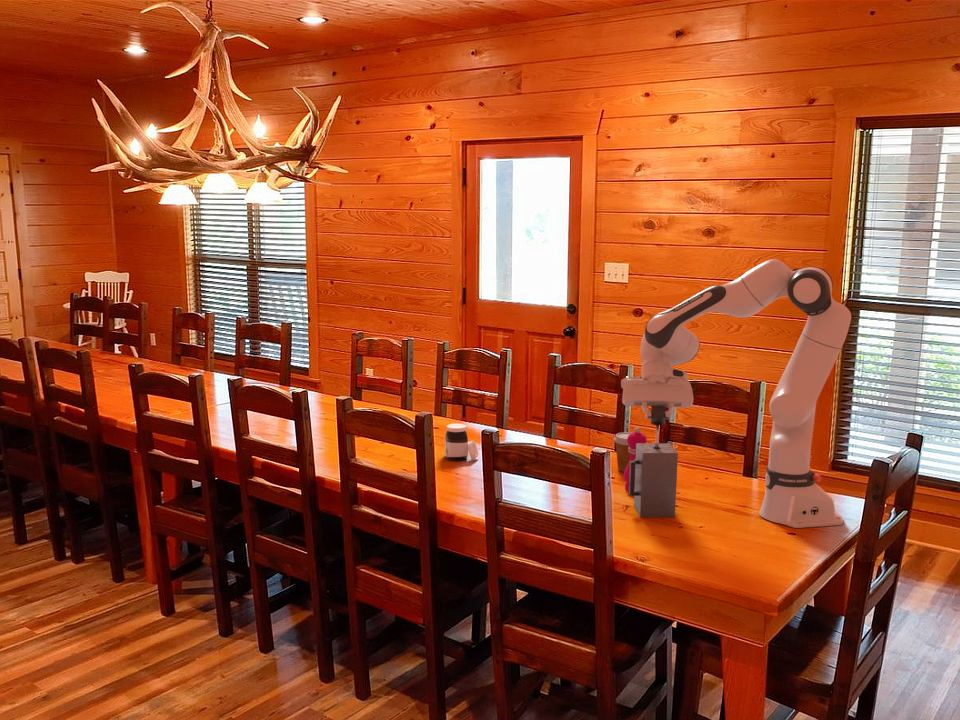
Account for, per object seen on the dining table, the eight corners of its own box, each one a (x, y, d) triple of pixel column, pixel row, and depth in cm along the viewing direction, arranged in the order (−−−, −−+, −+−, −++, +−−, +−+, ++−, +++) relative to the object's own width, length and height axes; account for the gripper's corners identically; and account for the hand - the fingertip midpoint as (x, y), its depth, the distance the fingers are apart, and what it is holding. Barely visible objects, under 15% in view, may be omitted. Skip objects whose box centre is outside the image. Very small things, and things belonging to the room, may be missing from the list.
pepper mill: (646, 493, 271) (649, 431, 268) (622, 492, 272) (625, 429, 269) (646, 486, 278) (649, 425, 275) (623, 484, 279) (626, 424, 276)
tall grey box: (667, 505, 261) (670, 443, 257) (674, 517, 251) (677, 453, 247) (625, 505, 260) (628, 443, 257) (631, 517, 251) (634, 452, 247)
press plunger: (666, 460, 257) (669, 403, 254) (672, 467, 249) (675, 409, 246) (640, 459, 257) (642, 403, 254) (645, 467, 249) (647, 409, 246)
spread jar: (442, 454, 312) (442, 423, 310) (473, 452, 315) (473, 421, 313) (449, 464, 300) (449, 431, 298) (481, 462, 303) (481, 429, 301)
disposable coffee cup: (643, 474, 290) (645, 439, 288) (615, 474, 290) (616, 439, 288) (639, 466, 300) (640, 432, 297) (611, 465, 300) (612, 431, 298)
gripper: (621, 370, 256) (622, 410, 248) (692, 372, 254) (695, 413, 246) (620, 382, 261) (620, 422, 254) (689, 384, 259) (692, 424, 252)
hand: (658, 417), depth 250 cm, fingers closed on press plunger, 4 cm apart
